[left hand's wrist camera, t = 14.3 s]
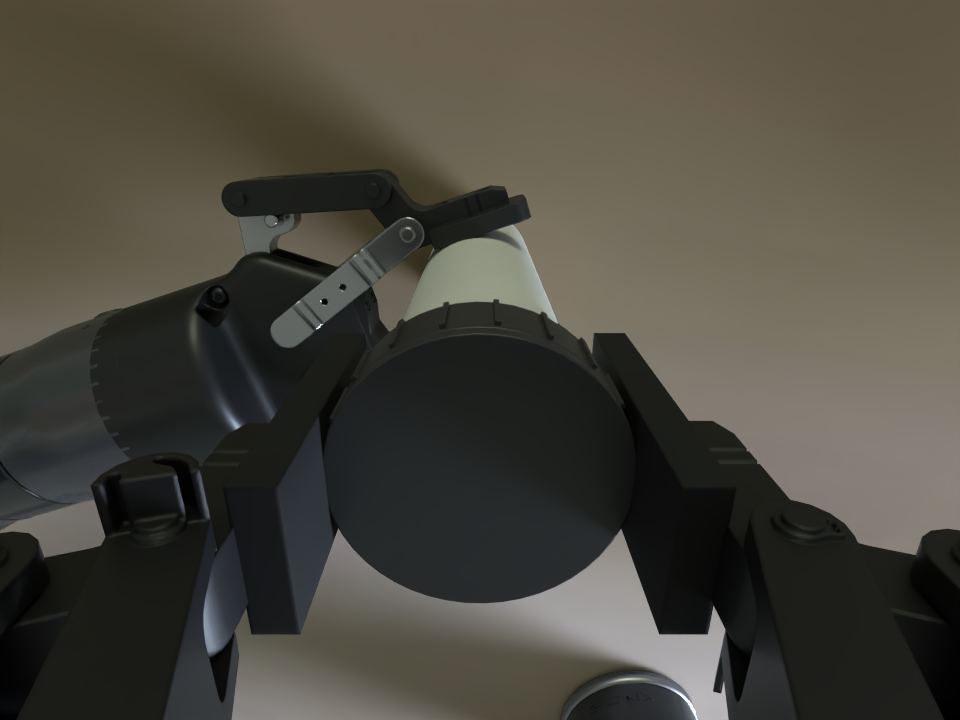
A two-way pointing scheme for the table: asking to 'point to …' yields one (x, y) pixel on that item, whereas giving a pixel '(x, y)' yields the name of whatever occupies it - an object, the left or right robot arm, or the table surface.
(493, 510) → the lid
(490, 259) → the bottle
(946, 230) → the table surface
